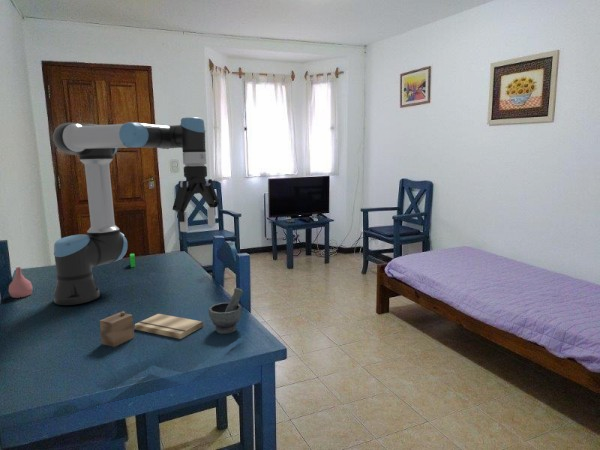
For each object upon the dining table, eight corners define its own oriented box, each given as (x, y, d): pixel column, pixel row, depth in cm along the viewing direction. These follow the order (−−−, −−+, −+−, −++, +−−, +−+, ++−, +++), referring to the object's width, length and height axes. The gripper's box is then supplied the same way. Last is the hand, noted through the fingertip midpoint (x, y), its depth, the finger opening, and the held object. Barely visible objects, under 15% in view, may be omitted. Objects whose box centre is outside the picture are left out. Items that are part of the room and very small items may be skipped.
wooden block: (101, 344, 119) (99, 317, 118) (121, 334, 125) (119, 309, 124) (114, 347, 117) (112, 320, 115) (134, 337, 123) (132, 312, 122)
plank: (134, 329, 129) (134, 323, 129) (158, 318, 138) (158, 313, 137) (180, 338, 121) (180, 333, 121) (202, 326, 130) (202, 320, 130)
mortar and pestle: (219, 338, 121) (217, 298, 119) (204, 329, 128) (201, 291, 126) (252, 328, 128) (250, 290, 126) (235, 319, 135) (234, 283, 133)
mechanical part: (144, 270, 202) (143, 254, 201) (131, 271, 200) (129, 255, 198) (143, 264, 213) (142, 249, 212) (130, 266, 211) (129, 250, 209)
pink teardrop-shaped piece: (18, 302, 157) (14, 271, 155) (5, 300, 160) (1, 269, 158) (38, 296, 164) (34, 266, 162) (24, 294, 167) (21, 264, 165)
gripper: (175, 166, 127) (180, 235, 130) (227, 164, 149) (230, 224, 152) (158, 166, 131) (162, 233, 134) (211, 165, 152) (213, 222, 156)
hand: (198, 228), depth 143 cm, fingers open, 13 cm apart
